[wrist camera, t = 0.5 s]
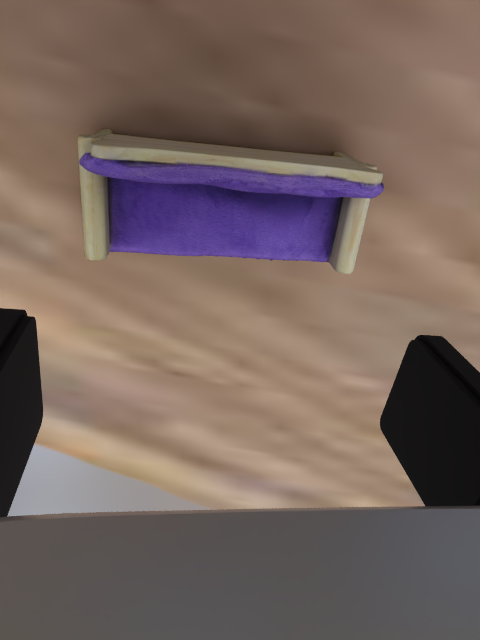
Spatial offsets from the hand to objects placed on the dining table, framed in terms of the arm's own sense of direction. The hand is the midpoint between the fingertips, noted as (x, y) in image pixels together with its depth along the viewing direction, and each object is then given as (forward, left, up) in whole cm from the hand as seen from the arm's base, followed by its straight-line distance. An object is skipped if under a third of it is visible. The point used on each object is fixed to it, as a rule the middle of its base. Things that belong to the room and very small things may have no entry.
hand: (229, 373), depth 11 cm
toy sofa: (+1, +3, -29) cm, 30 cm away
